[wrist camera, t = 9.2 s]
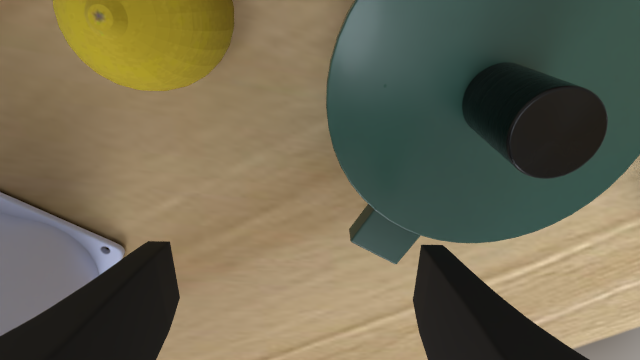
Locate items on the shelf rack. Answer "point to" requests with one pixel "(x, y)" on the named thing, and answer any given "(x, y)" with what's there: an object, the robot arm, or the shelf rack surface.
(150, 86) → the lemon
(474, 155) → the pot lid
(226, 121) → the shelf rack surface
